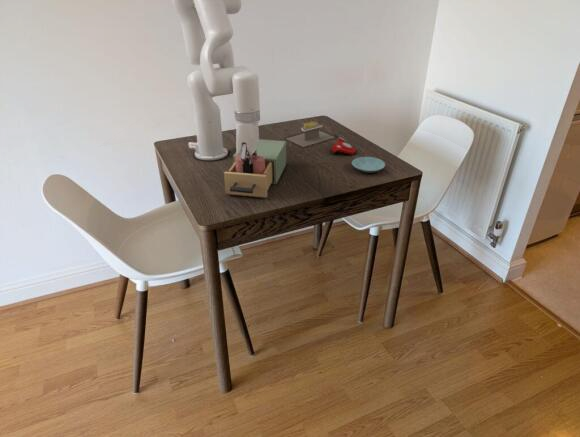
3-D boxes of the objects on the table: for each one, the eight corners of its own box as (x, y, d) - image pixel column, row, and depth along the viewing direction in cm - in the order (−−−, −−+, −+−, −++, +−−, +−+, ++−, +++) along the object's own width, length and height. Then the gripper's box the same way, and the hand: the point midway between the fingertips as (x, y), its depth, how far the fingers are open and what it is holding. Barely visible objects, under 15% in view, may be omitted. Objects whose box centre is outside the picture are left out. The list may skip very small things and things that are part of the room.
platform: (285, 138, 179) (285, 123, 176) (317, 129, 189) (317, 115, 185) (302, 147, 171) (303, 131, 168) (335, 137, 181) (336, 122, 177)
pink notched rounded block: (234, 173, 135) (233, 159, 133) (238, 167, 139) (237, 154, 137) (263, 176, 134) (262, 161, 131) (266, 170, 138) (266, 156, 135)
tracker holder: (361, 150, 165) (342, 149, 160) (356, 159, 168) (338, 159, 162) (343, 134, 173) (325, 133, 167) (339, 143, 175) (321, 143, 169)
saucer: (384, 177, 148) (385, 171, 146) (350, 174, 149) (351, 168, 148) (384, 163, 158) (384, 157, 156) (351, 161, 159) (352, 155, 158)
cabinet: (276, 184, 143) (275, 159, 138) (234, 180, 145) (232, 156, 141) (286, 164, 157) (286, 141, 152) (247, 161, 159) (246, 138, 154)
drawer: (262, 205, 129) (262, 183, 125) (220, 200, 131) (218, 179, 128) (277, 176, 146) (276, 156, 142) (239, 173, 148) (238, 153, 145)
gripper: (243, 106, 135) (246, 160, 144) (226, 123, 121) (231, 181, 130) (266, 108, 134) (268, 161, 143) (252, 125, 119) (255, 184, 129)
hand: (250, 170), depth 136 cm, fingers closed on pink notched rounded block, 4 cm apart
